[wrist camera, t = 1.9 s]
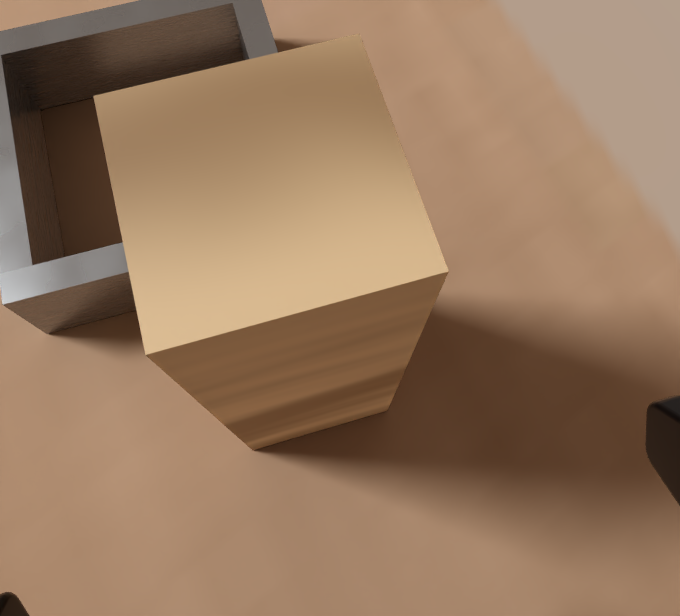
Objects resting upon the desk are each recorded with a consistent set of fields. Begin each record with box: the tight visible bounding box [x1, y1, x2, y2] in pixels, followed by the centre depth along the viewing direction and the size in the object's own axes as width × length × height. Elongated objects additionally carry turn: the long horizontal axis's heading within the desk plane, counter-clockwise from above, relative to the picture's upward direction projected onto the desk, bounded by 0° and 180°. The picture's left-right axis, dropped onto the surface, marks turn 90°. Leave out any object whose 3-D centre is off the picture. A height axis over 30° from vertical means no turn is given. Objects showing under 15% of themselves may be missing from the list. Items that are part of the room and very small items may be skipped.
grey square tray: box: [0, 0, 278, 334], centre depth 22 cm, size 10×10×3 cm
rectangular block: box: [93, 34, 449, 450], centre depth 16 cm, size 4×4×12 cm
